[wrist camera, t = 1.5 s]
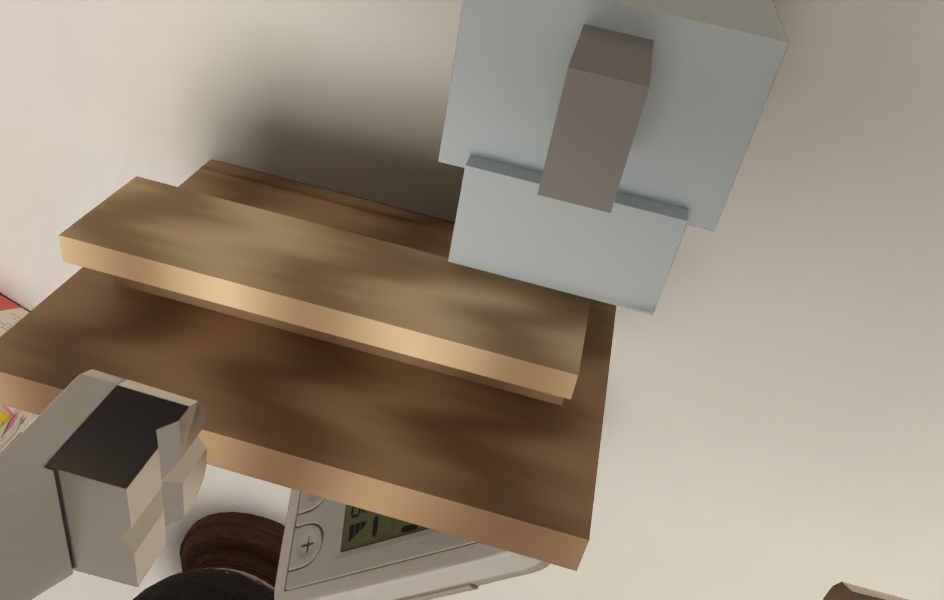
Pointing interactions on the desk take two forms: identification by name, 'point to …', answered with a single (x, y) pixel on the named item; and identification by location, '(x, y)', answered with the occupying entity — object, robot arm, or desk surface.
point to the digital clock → (380, 556)
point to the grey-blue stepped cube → (601, 134)
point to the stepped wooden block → (336, 353)
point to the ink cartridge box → (4, 420)
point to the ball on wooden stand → (225, 560)
